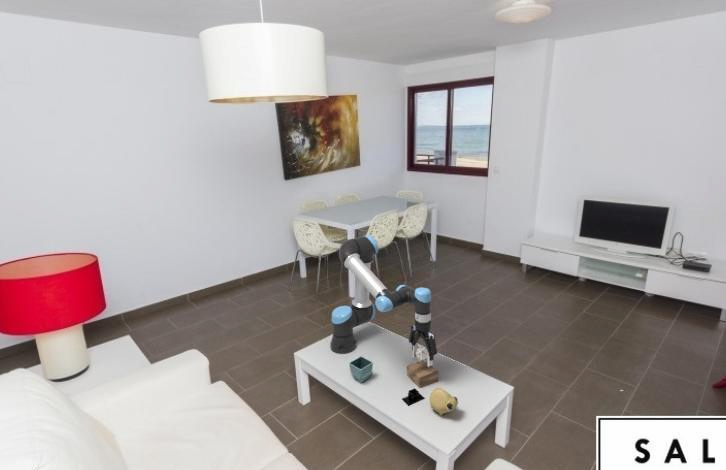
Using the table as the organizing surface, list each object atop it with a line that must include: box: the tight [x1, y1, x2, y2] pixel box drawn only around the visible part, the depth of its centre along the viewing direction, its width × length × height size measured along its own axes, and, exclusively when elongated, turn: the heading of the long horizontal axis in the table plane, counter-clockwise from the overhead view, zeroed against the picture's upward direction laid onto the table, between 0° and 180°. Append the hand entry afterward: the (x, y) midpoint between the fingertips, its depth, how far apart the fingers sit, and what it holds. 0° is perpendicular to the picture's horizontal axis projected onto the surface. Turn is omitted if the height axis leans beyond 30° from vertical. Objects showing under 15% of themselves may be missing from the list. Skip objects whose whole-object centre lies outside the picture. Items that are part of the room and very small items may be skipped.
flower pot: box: [348, 355, 374, 383], centre depth 191 cm, size 9×9×9 cm
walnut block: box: [406, 361, 439, 389], centre depth 189 cm, size 11×11×6 cm
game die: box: [412, 346, 429, 364], centre depth 187 cm, size 9×8×10 cm
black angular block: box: [401, 388, 426, 407], centre depth 176 cm, size 12×7×5 cm, turn 119°
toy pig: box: [429, 387, 459, 416], centre depth 166 cm, size 10×12×11 cm
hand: (422, 361), depth 187 cm, fingers closed on game die, 9 cm apart
